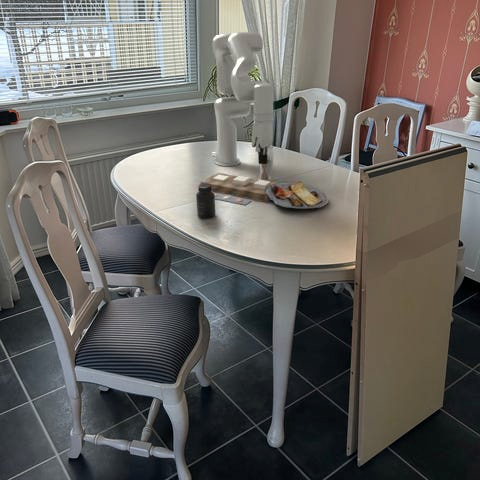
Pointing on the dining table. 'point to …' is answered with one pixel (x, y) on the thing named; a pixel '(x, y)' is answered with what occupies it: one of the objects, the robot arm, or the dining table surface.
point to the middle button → (241, 181)
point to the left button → (221, 178)
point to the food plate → (296, 195)
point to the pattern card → (231, 199)
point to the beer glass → (267, 166)
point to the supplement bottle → (205, 201)
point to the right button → (262, 184)
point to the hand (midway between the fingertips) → (262, 163)
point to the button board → (237, 188)
